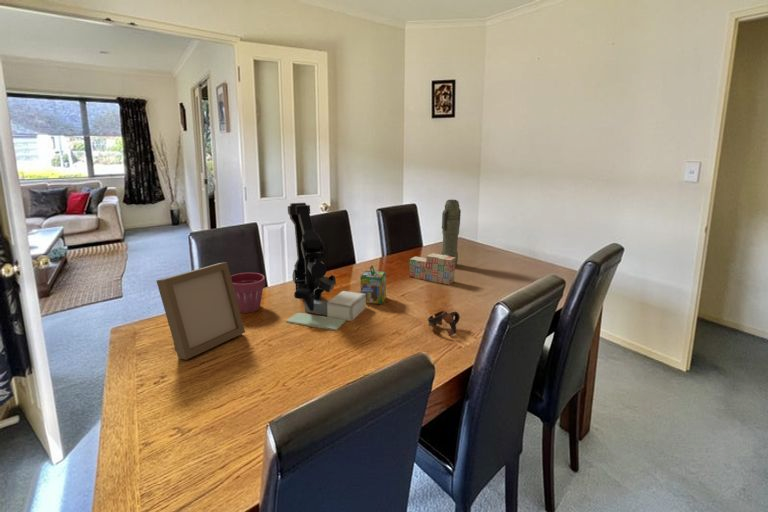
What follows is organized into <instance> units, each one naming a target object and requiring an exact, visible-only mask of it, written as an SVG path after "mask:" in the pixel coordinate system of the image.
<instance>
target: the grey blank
mask: <svg viewBox="0 0 768 512" xmlns="http://www.w3.org/2000/svg"><path fill="white" fill-rule="evenodd" d="M329 301H330V300H329ZM329 301H328V300H323V299H320V300H316V299H314V306H313V311H311V310H310V309H309V308H308V306H307V304H306V302H305V301H304V312H305V313H312V314H317V315H322V314H323V315H322V316H327V303H328V302H329Z"/></svg>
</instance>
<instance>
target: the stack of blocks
mask: <svg viewBox="0 0 768 512" xmlns="http://www.w3.org/2000/svg"><path fill="white" fill-rule="evenodd" d="M408 271H409V272H408V276H409V278H413V277H414V278H413V279H417V278H418V279H417V280H422V279H423V281H427V280H428V281H429V282H432V281H433V283H437V282H439V283H438V284H441V283H444V284H443V285H446V284H448V286H449V285H451V284H452V283H453V281H454V282H455V271H456V267H455V257H450V256H447V255H441V253H440V254H438V253H433V252H432V253H430V254H428V255H426V257H421V256H413V257H411V258H409V270H408ZM428 281H427V282H428ZM450 283H451V284H450Z"/></svg>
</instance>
